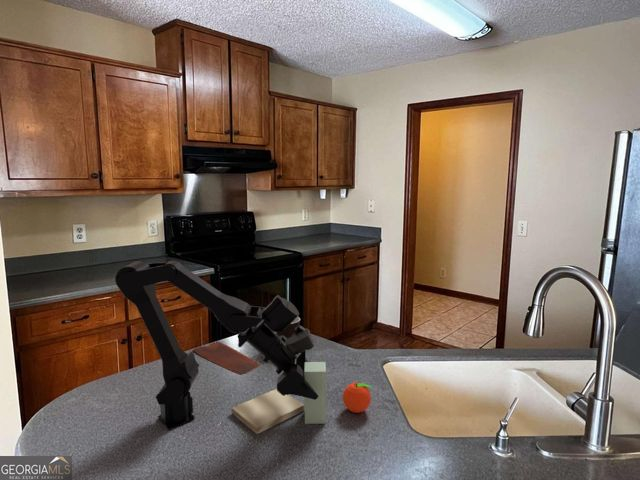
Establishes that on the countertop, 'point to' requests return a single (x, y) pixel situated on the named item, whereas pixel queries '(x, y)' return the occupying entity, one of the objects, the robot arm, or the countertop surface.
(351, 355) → the countertop surface
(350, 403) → the clementine
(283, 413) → the birch board
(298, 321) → the coffee mug
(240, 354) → the wooden tablet
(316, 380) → the green block
